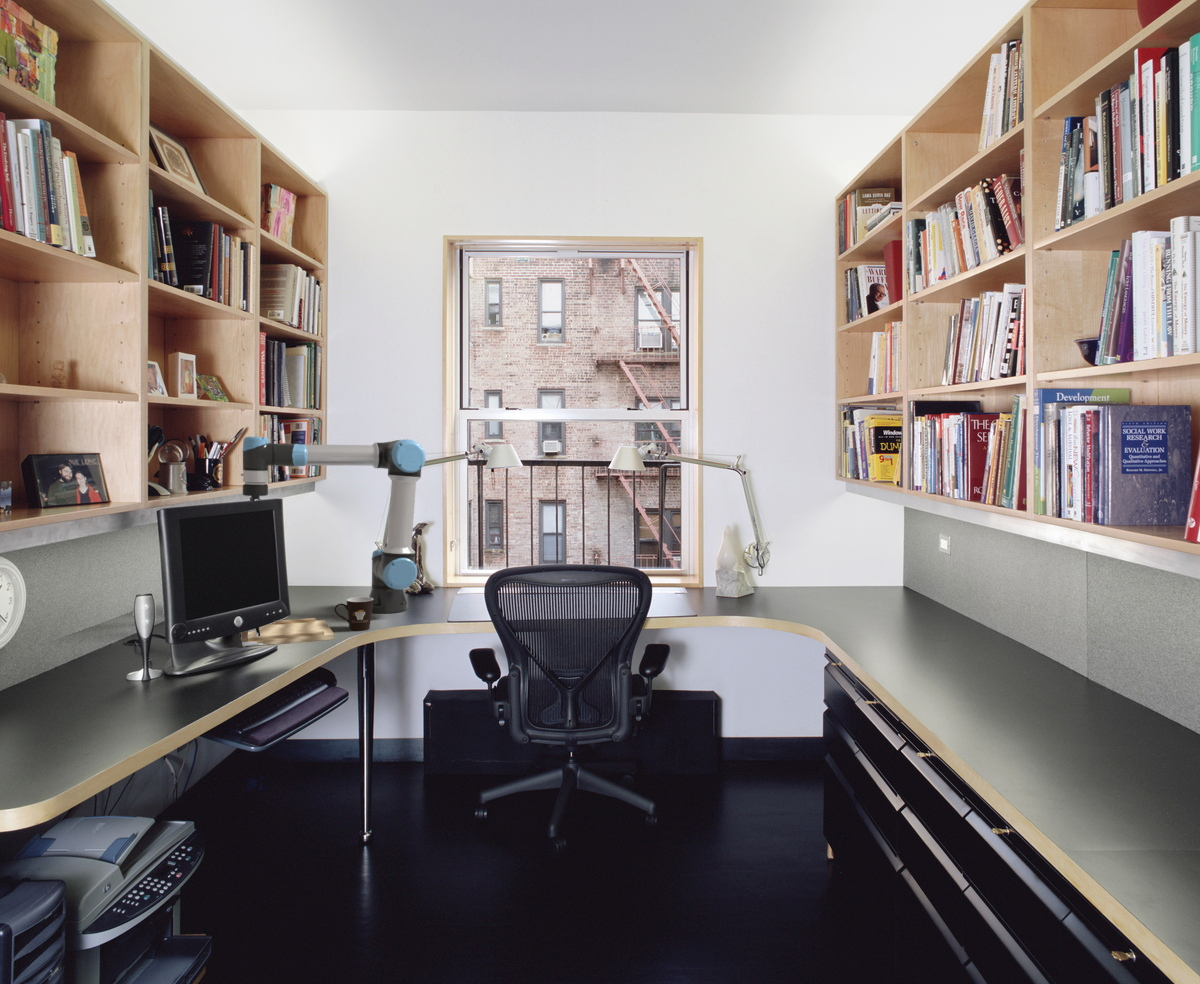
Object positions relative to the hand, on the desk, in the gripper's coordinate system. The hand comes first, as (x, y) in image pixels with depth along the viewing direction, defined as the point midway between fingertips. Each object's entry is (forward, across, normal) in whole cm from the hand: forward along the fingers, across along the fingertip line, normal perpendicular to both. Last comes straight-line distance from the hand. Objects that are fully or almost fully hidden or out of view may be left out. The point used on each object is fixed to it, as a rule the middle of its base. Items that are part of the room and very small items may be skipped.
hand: (255, 547), depth 232 cm
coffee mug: (+27, +12, +30) cm, 42 cm away
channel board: (+27, +14, +8) cm, 31 cm away
